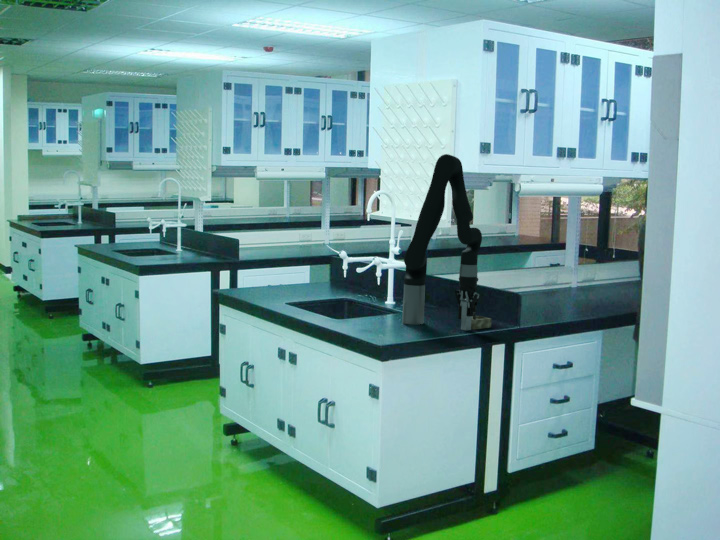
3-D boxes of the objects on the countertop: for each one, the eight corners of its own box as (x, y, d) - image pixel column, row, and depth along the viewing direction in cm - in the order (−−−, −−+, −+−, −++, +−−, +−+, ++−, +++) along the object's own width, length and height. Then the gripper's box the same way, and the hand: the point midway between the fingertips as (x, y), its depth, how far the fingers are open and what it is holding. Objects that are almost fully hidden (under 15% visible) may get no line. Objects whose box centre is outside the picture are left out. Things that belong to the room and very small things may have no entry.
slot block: (474, 329, 321) (475, 313, 320) (461, 326, 327) (462, 310, 326) (491, 327, 326) (491, 311, 326) (478, 324, 333) (478, 308, 332)
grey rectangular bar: (465, 330, 318) (467, 302, 316) (460, 329, 320) (462, 301, 319) (470, 330, 319) (472, 302, 318) (466, 328, 322) (467, 301, 320)
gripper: (486, 276, 314) (484, 317, 315) (463, 272, 325) (461, 312, 327) (473, 277, 309) (471, 319, 311) (450, 273, 321) (448, 313, 323)
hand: (466, 315), depth 319 cm, fingers open, 3 cm apart
